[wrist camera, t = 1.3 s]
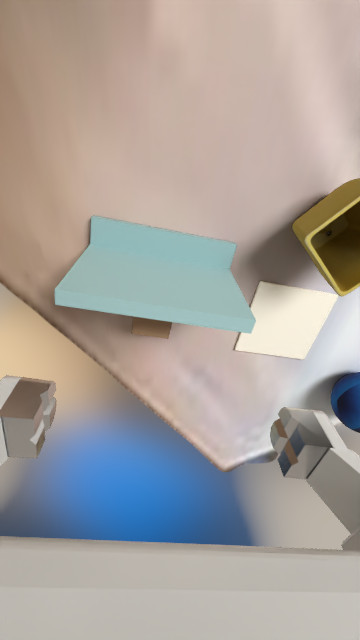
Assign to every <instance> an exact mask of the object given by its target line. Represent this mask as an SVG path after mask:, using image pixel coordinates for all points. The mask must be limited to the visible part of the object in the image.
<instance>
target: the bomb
mask: <svg viewBox="0 0 360 640" xmlns="http://www.w3.org/2000/svg"><path fill="white" fill-rule="evenodd" d="M331 405H332V409H333V411H334V413H335V415H336V416H337V418H338V419H339V420H340V421H341V422H342V423H343V424H344V425H345V426H347V427H348V428H350V429H352V430H354V431H356V432H359V433H360V372H357V373H351V374H348V375H346V376H344V377H342V378H341V379H339V380H338V381H337V383H336V384H335V385H334V387H333V389H332V393H331Z"/></svg>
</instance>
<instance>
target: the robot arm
mask: <svg viewBox="0 0 360 640" xmlns="http://www.w3.org/2000/svg"><path fill="white" fill-rule="evenodd" d="M55 391H56V385H55V382H53V381H46V380H39V379H32V378H24V377H23V378H22V377H14V376H7V375H6V376H5V377H3V378H2V379H1V381H0V465H1V464H2V463H4V462H5V461H6V460H7V459H8V457H19V458H37V457H38V455H39V453H40V450H41V448H42V446H43V443H44V441H45V431H46V430H48V429H49V428H50V426H51V424H52V422H53V419H54V415H55V411H56V399H55V398H54V397H53V395H54V393H55ZM278 415H279V417H280V419H278V420H276V421H275V422H274V423H273V425H272V427H271V433H270V437H271V443H272V446H273V448H274V449H275V450H276V451H277V452H278V453H279V456H278V459H277V460H278V462H279V465H280V468H281V470H282V473H283V476H284V477H287V478H297V479H306V481H307V482H308V484H310V486H311V487H312V488H313V490H314V491H315V492H316V493H317V494H318V495H319V497H320V498H321V499H322V500H323V501H324V503H325V504H326V505H327V506H328V507H329V508H330V510H331V511H332V512H333V513H334V514H335V515H336V517H337V518H338V519H339V520H340V521H341V523H342V524H343V525H344V526H345V527H346V528H347V530H348V531H349V532H350V533H351V535H350V536H349V537H348V538H347V539H346V540H344V541H343V543H342V548H343V550H332V549H307V548H282V547H257V546H232V545H231V546H230V545H207V544H206V545H205V544H183V543H181V544H180V543H156V542H132V541H106V540H82V539H56V538H31V537H5V536H0V640H360V456H358V455H357V454H356V453H354V452H353V451H352V450H348V449H347V447H346V446H345V444H344V443H343V441H342V439H341V438H340V436H339V435H338V433H337V431H336V430H335V428H334V426H333V425H332V423H331V421H330V420H329V418H328V417H327V415H326V414H325V413H324V412H323V411H318V410H307V409H298V408H288V407H284V408H282V409H281V410H280V412H279V414H278Z"/></svg>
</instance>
